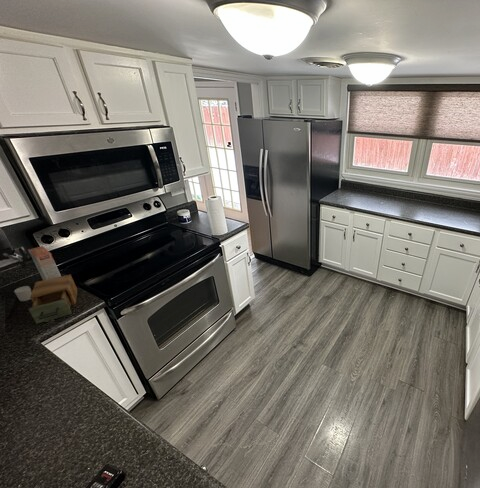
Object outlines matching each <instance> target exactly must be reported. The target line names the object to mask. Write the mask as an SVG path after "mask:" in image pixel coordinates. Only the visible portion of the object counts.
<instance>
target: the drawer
mask: <svg viewBox="0 0 480 488" xmlns="http://www.w3.org/2000/svg"><path fill="white" fill-rule="evenodd" d="M71 306H72V305H71V299H70V296H69V294H68V292H67V290H63V291H59V292H55V293H51V294H47V295H43V296H39V297H36V298H35V300H34V303H33V302H32V307H29V308H28V311H29V313H30V315H31V316H32V318H33V320H34V321H35V323H36V325H38V324H41V323H44V322H48V321H51V320H52V321H53V320H55V319H58V318H62V317H67V316H69V315H72V312H73V311H72V310H71Z"/></svg>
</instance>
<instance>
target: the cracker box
mask: <svg viewBox="0 0 480 488" xmlns="http://www.w3.org/2000/svg"><path fill="white" fill-rule="evenodd" d="M27 251H28V253H29V255H30V257H31V258H32V261H33V263H34V265H35V267H36V270H37V271H38V273H39V275H40V277H41V280H42V281H43V280H47V279H52V278H56V277H61V276H62V275H61V272H60V270H59V268H58V266H57V264H56V261H55V260H54V256H53V255H52V253H51V252H50V251H49V250H48V249H47V248H45V246H43V245H42V246H38V247H33V248H29V249H27Z"/></svg>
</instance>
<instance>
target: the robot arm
mask: <svg viewBox="0 0 480 488" xmlns="http://www.w3.org/2000/svg"><path fill="white" fill-rule="evenodd" d="M15 252H17V253H20V254H21V255H20V254H17V253H15ZM10 259H12V260H15V261H18V262H19V264H20V266H21V267H22V269H26V268H27V266H28V263H27V262H26V260H28V259H29V254H28V252H27V250H26V249H25V247H24V246H22V245H21V246H19V247H15V248H14V247H13V246H12V244H11V241H10V240H9V239H8V237H7V236H6V234H5V231H4V230H3V229H2V228H1V227H0V261H1V262H2V261H5V260H6V261H7V260H10Z"/></svg>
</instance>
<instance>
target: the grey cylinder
mask: <svg viewBox="0 0 480 488" xmlns="http://www.w3.org/2000/svg"><path fill="white" fill-rule="evenodd" d="M32 291H33V289H32V288H31V287H30V286H29V285H24V286H20V287H18V288H16V289H15V290H13V292H14V294H15V295H16V297H17V299H18V301H19V302H27V301H29V300H31V298H30V296H31V294H32Z"/></svg>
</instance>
